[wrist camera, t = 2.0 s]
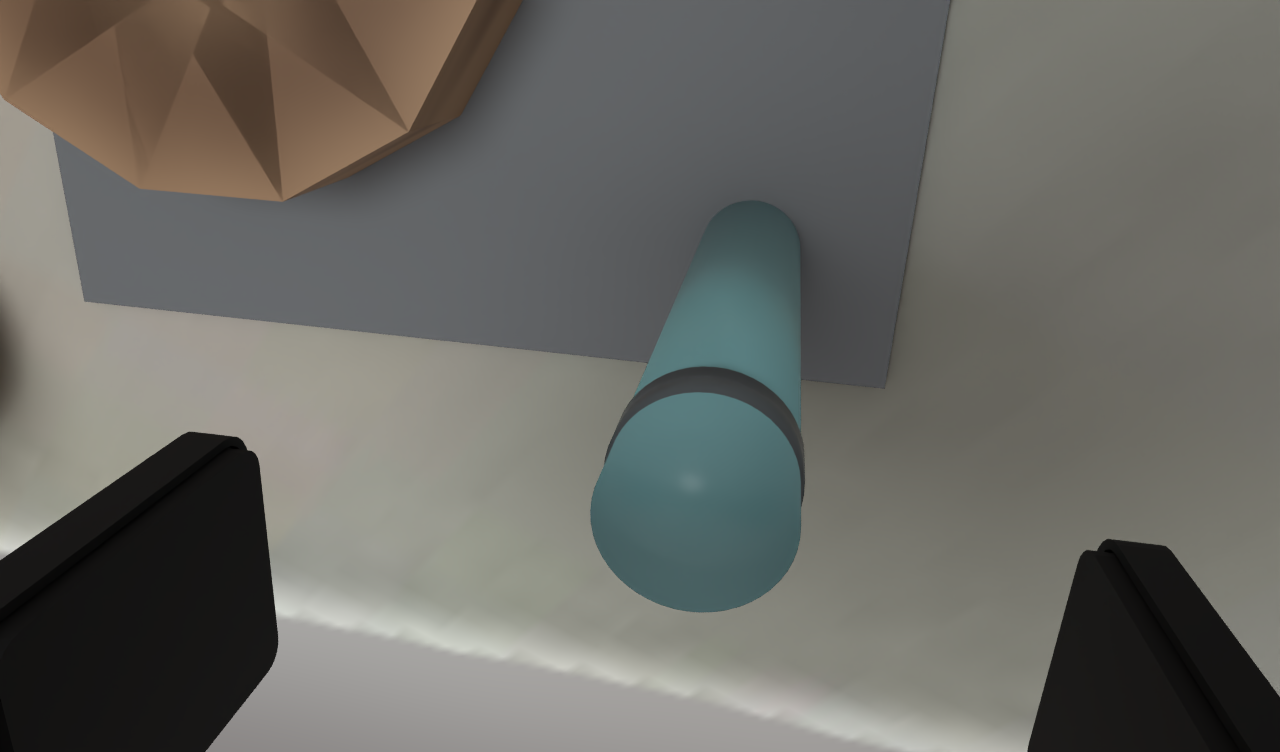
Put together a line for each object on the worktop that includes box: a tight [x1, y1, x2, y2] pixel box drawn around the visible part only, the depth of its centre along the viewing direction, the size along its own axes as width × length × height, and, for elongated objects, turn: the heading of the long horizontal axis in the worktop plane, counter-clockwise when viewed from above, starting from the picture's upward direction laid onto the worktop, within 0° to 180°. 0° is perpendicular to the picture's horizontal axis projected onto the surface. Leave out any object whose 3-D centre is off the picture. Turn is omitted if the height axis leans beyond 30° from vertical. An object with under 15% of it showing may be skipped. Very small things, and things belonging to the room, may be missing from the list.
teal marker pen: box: [590, 201, 805, 612], centre depth 18 cm, size 3×3×14 cm
